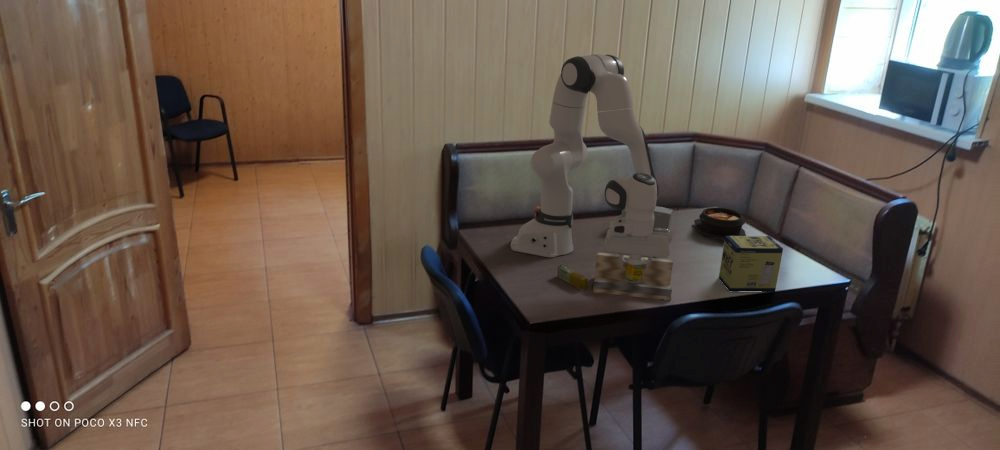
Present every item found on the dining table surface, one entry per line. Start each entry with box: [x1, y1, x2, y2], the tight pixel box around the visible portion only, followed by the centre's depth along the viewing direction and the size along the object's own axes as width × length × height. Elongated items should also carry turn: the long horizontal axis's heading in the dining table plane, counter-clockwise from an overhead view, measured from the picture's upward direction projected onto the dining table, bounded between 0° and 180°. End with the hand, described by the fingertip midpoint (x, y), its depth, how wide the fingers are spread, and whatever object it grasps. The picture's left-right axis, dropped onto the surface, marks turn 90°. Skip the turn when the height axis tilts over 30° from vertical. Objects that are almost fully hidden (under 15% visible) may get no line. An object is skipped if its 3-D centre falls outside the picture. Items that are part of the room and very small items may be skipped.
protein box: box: [718, 235, 784, 293], centre depth 234 cm, size 10×16×16 cm
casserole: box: [693, 207, 747, 242], centre depth 278 cm, size 25×19×8 cm
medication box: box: [557, 264, 589, 291], centre depth 233 cm, size 12×3×4 cm, turn 37°
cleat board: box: [592, 251, 674, 301], centre depth 229 cm, size 24×11×9 cm, turn 80°
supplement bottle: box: [625, 254, 644, 283], centre depth 228 cm, size 5×5×10 cm
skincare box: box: [653, 205, 674, 231], centre depth 259 cm, size 8×7×16 cm
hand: (634, 267), depth 228 cm, fingers closed on supplement bottle, 5 cm apart
